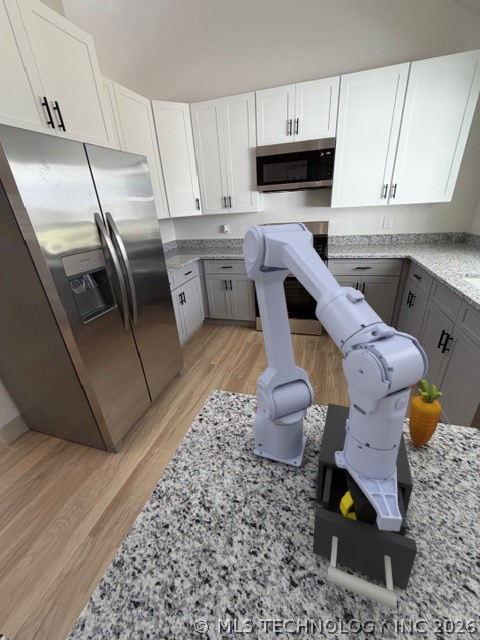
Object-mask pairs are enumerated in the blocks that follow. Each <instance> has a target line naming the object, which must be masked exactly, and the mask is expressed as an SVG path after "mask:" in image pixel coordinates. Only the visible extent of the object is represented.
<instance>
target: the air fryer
mask: <svg viewBox="0 0 480 640" xmlns="http://www.w3.org/2000/svg"><path fill="white" fill-rule="evenodd" d="M349 411H350V406H345V405H341V404H340V405H339V404H335V403H330V402H328V403H327V410H326V413H325V421H324V426H323V433H322V438H321V444H320V450H319V456H318V465H317V466H318V467H317V468H318V469H317V479H316V493H315V495H316V496H315V497H316V498H315V504H317V505H319V506H322V504H323V495H324V487H325V479H326V472H327V466H329V467H333V468H336V469H340V470H343V471H345V468H340V467H338V466H337V464H336V460H335V452H336V451H340V449H343V448H344V444H345V439H346V433H347V432H346V429H345V428H346V419H349ZM396 468H397V486H401V491H402V498H403V505H404V512H405V518H406V517H407V513H408V509H409V505H410V502H411V501H410V500H411V497H412V492H413V489H414V482H413V478H412V473H411V467H410V462H409V457H408V452H407V445H406V441H405V436H404V430H402V435H401V440H400V445H399V450H398V455H397V459H396Z"/></svg>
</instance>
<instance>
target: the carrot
mask: <svg viewBox="0 0 480 640" xmlns="http://www.w3.org/2000/svg"><path fill="white" fill-rule="evenodd" d="M420 384H421V386H422V388H423V390H424V391H423V390H422V389H421V388H418V389H417V390H418V392H419V393H420V395H418V396H414V397H412V400H411V406H410V411H409V418H408V431H409V437H410V440H411V442H412V444H413V446H414V447H415V448H417V449H418V448H422V447H423V446H425V445H426V444H427V443H428V442H429V441H430V440H431V439H432V437H433V435H434V434H435V432H436V430H437V427H438V425H439V421H440V418H441V414H442V404H440V402H439V401H437V399H438V398H440V397H442V396H443V393H442V392H441V391H437V386H436V385H435V384H431V385H430V387H429V384H428V381H427V380H425V379H422V380H420Z"/></svg>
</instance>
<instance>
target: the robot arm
mask: <svg viewBox="0 0 480 640" xmlns="http://www.w3.org/2000/svg"><path fill="white" fill-rule="evenodd" d="M242 252H243V259H244V266H245V271H246V276H247V279H250V280H252V281H254V286H255V292H256V299H257V305H258V311H259V319H260V324H261V330H262V336H263V337H262V338H263V344H264V349H265V355H266V360H267V361H266V362H267V367H266V368H265V369H264V370H263V372H262V373H261V374H260V375H259V376H258V378H257V379H256V404H257V407H258V408H257V410H256V412H255V416H254V422H253V434H254V435H253V436H254V449H253V454H254V455H255V456H259V457H263V458H266V459H269V460H273V461H276V462H279V463H282V464H286V465H288V466H289V465H290V466H293V467H296V468H300V467H301V466H302V462H303V457H304V454H305V450H306V449H305V448H306V445H307V440H308V437H307V436H306V435H304V416H305V415H306V414H308V408H310V407H313V405H314V402H315V393H314V392H315V391H314V389H313V386H312V385H311V382H310V379H309V374H308V371H306V370H305V369H303V368H302V367H300V366H298V365H296V361H295V355H294V347H293V342H292V335H291V328H290V320H289V314H288V308H287V301H286V294H285V288H284V281H285V279H286V278H287V276H288V275H289V274H292V275H293V276H294V277H295V278H296V279H297V280H298V282H299V283H300V284H301V285H302V287H304V288H305V289H306V291H307V292H308V293H309V294H310V295H311V296H312V297H313V299H314V300H315V301H316V307H315V316H316V318H317V319H318V321H319V322H320V323H321V325H322V326H323V328H324V329H325V331H326V332H327V334H328V335H329V336H330V337H331V339H332V341H333V342H334V343H335V345H336V347H337V348H338V349H339V351H340V352H341V353H342V355H343V357H344V358H343V359H342V370H343V374H344V377H345V379H346V382H347V395H348V399H349V401H350V403H349V407H350V411H349V419H346V428H345V429H346V432H347V433H346V439H345V444H344V448H343V449H340V451H336V452H335V460H336V464H337V466H338V467H340V468H345V471H346V476H347V485H348V490H349V492H350V495H351V498H352V500H353V502H354V511H355V517H356V520H358V521H361V522H363V523H366V524H369V525H373V524H374V523H375V522H376V521H377V524H378V527H379V529H380V530H387V531H399V530H400V526H401V522H402V517H401V514H400V512H399V508H398V506H399V504H400V496H399V494H398V492H397V468H396V459H397V455H398V450H399V445H400V440H401V435H402V430H403V429H404V425H405V424H404V423H405V419H406V415H407V410H408V405H409V400H410V395H411V391H412V388H411V387H410V386H413V385H415V384H418V382H421V381H422V380H424V378H425V377H426V375H427V373H428V369H429V360H428V357H427V353H426V352H425V350H424V349H423V347H422V345H420V343H419V341H418V339H417V338H416V337H414V336H412V335H411V334H408V333H405V332H403V331H402V332H401V331H398V330H396V328H394V327H393V326H389V325H388V324H387V323H385V322H384V321H383V320H382V318H381V317H380V316H379V315H378V314H377V312H375V310H374V309H373V308H372V307H371V306H370V304H369V302H367V301H366V300H365V296H364V294H363V293H362V292H361V290H360V289H355V288H354V287H351V286H341V285H340V283H338V281H337V280H336V278H335V277H334V275H333V274H332V272H331V271H330V270H329V268H328V267H327V265H326V264H325V262H324V261H323V260H322V258H321V257H320V255H319V254H318V252H317V251H316V249H315V248H314V235H313V233H312V232H311V231H310V230H309V228H308V227H307V226H306V225H305V224H304V223H303V222H298V221H297V222H294V223H285V224H271V225H270V224H269V225H256V224H254V225H250V226H249V227H248V228H247V230H246V232H245V233H244V237H243V241H242ZM403 431H404V430H403Z"/></svg>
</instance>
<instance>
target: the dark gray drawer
mask: <svg viewBox="0 0 480 640" xmlns="http://www.w3.org/2000/svg"><path fill="white" fill-rule="evenodd" d="M347 492H349V490H348V485H347V476H346V471H343V470H340V469H336V468H333V467H329V466H327V472H326V479H325V487H324V495H323V504H322V505H321V507H318V506H316V507H315V512H314V525H313V535H312V536H313V538H312V551H311V552H312V554H314V555H317V556H319V557H321V558H324V559H326V560H328V561H330V565H328V566H327V577H326V582H328V583H331V584H333V585H335V586H338V587H340V588H343V589H345V590H347V591H349V592H352V593H354V594H357V595H359V596H361V597H364V598H366V599H368V600H371V601H373V602H375V603H377V604H380V605H382V606H384V607H387V608H389V609H391V610H394V611H397V608H398V598H397V593H396V592H394V587H396V588H398V589H401V590H404V591H407V589H408V585H409V582H410V579H411V574H412V572H413V568H414V564H415V560H416V556H417V553H418V547H417V541H416V539H414V538H411V537H409V536H406V532H407V530H408V529H407V528H408V526H407V520H406V517H405V512H404V505H403V498H402V491H401V486H397V492H398V494H399V496H400V504H399V506H398V508H399V512H400V514H401V517H402V522H401V526H400V530H399V531H387V530H380V529H379V527H378V524H377V521H376V522H375V523H374V524H373V525H369V524H366V523H363V522H361V521H358V520H355V519H352V518H349V517H346V516H344V515H343V513H342V511H341V509H340V504H341V500H342V498H343V497H344V495H345V494H346V493H347ZM353 512H355V511H354V503H353V504H352V506H351V507H350V508H349V510H348V513H353ZM337 564H339V565H341V566H343V567H346V568H348V569H351V570H354V571H356V572H359V573H361V574H364V575H366V576H369V577H371V578H374V579H376V580H379V581H381V582H383V583H385V587H382V586H379V585H377V584H375V583H372V582H370V581H367V580H365V579H363V578H360V577H357V576H355V575H353V574H350V573H348V572H346V571H343V570H340V569H338V568H337V566H336V565H337Z"/></svg>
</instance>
